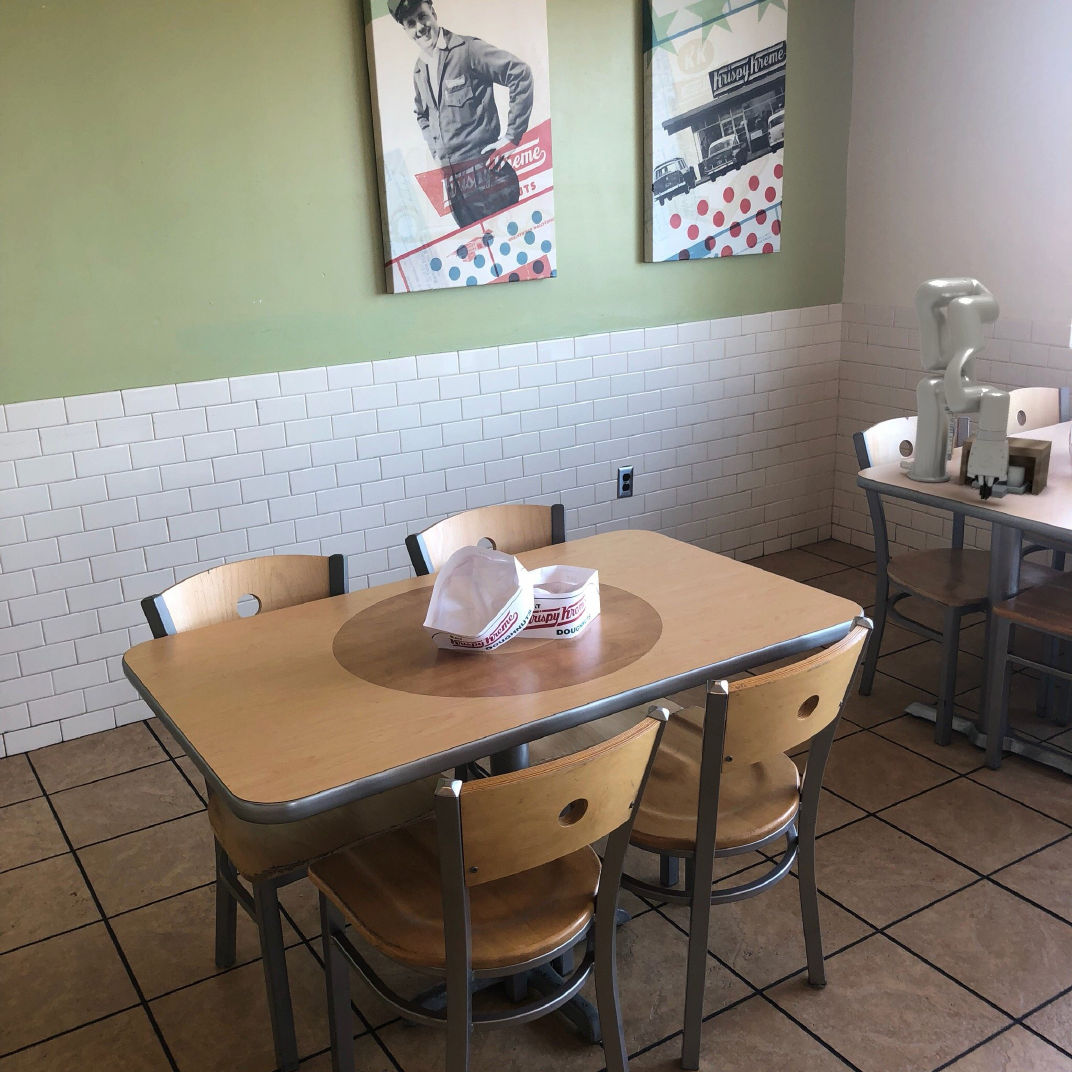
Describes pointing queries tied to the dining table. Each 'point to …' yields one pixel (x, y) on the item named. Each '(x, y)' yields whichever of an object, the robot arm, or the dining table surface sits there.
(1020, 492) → the glasses tray
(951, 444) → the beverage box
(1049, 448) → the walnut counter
